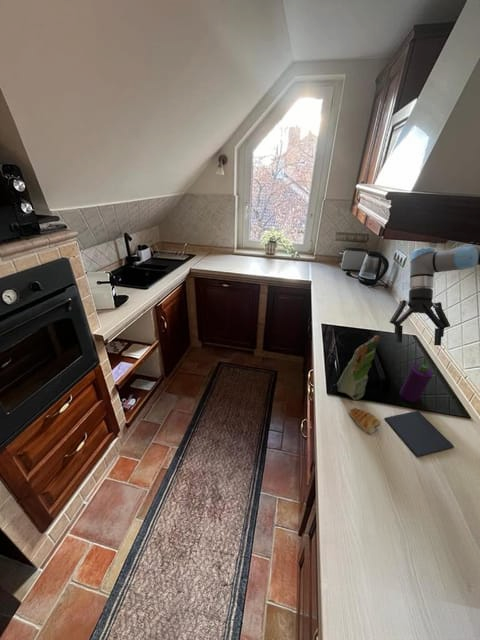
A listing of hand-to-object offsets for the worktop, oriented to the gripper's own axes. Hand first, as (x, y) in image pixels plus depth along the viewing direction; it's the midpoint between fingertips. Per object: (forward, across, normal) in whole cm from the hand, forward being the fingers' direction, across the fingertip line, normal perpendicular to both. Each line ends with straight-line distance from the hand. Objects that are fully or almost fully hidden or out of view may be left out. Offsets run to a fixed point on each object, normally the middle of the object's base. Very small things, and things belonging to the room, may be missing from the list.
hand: (418, 344), depth 97 cm
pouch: (+21, +24, 0) cm, 32 cm away
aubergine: (+20, +2, -1) cm, 20 cm away
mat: (+29, +6, +13) cm, 33 cm away
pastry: (+29, +22, +12) cm, 38 cm away
